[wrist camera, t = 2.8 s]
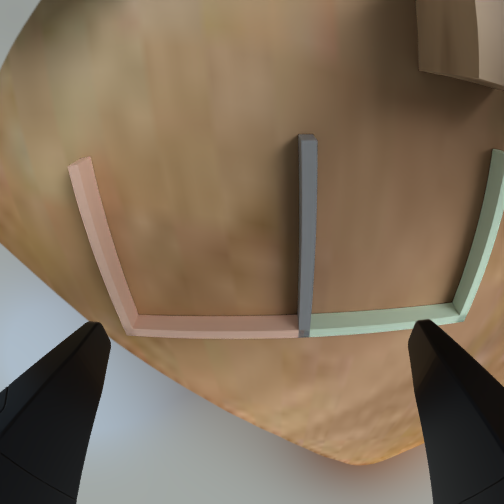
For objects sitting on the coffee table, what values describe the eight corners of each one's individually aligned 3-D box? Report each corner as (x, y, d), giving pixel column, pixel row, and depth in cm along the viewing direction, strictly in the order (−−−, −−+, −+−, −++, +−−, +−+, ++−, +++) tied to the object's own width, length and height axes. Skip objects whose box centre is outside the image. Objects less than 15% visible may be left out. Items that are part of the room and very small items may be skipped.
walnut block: (490, 5, 10) (553, 1, 5) (494, 88, 13) (558, 107, 8) (411, -22, 10) (466, -47, 5) (418, 70, 13) (478, 78, 8)
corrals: (500, 149, 15) (514, 157, 14) (456, 308, 22) (463, 321, 21) (80, 158, 17) (67, 166, 16) (132, 321, 24) (127, 335, 23)
